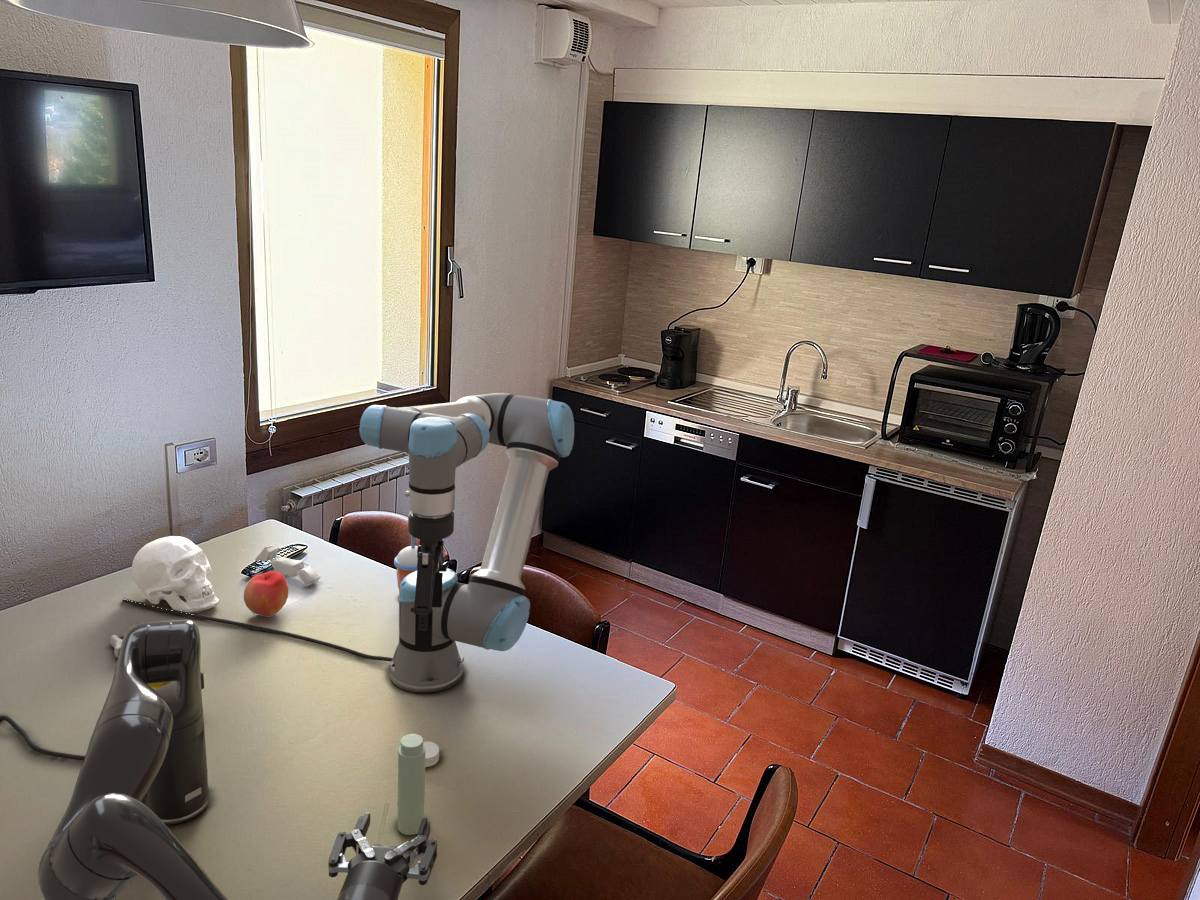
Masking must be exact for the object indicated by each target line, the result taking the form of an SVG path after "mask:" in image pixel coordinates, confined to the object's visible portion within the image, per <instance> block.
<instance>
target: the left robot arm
mask: <svg viewBox="0 0 1200 900" xmlns="http://www.w3.org/2000/svg"><path fill="white" fill-rule="evenodd" d="M200 634H201V633H200V630H199V626H198V625H197V623H196V622H195V621H194V620H192V619H177V620H175V619H174V620H162V621H160V620H159V621H149V622H141V623H138V624H134V625H132V626H130V627H129V628H128V629H127V631H126V632H125V634H124V635H123V636H124V638H123V640H122V643H121V647H120V651H119V655H118V658H117V660H116V665H115V668H114V673H113V677H112V680H111V681H112V682H111V685H110V688H109V690H108V694H107V696H106V699H105V702H104V704H103V706H102V709H101V711H100V714H99V716H98V719H97V721H96V723H95V725H94V729H93V731H92V734H91V737H90V739H89V743H88V745H87V750H86V753H85V755H80V754H78V755H77V754H73V753H66V752H59V751H53V750H49V749H46V748H43V747H41V746H39V745H37V744H36V743H34V741H32V739H31V738H30V737H29V735H28V733H27V732H26V731H25V729H23V728H22V727H21V726H20V725H19V724H18V723H17V722H15V720H14V719H12V718H11V717H10V716H8V715H4V714H3V715H0V722H1V721H3V720H4V722H5V721H6V722H7V723H8V724H9V725H10V726H11V727H12V728H13V729H14V730H15V731H16V732H17V733H18V734H20V736H21V737H22V739H23V740H24V741H25V743H26V744H27V746H28V747H29V748H31V749H32V750H33V751H34V752H37V753H40V754H43V755H46V756H51V757H55V758H62V759H68V760H75V761H82V764H81V766H80V767H81V768H80V770H79V773H78V776H77V779H76V783H75V786H74V788H73V792H72V795H71V798H70V801H69V804H68V805H67V808H66V810H65V812H64V815H63V817H62V818H61V821H60V822H59V824H58V826H57V828H56V830H55V831H54V833H53V835H52V837H51V839H50V840H49V842H48V844H47V846H46V848H45V850H44V852H43V853H42V856H41V858H40V861H39V863H38V869H37V884H38V888H39V892H40V894H41V897H42V899H43V900H115V899H116V898H117V897H118V896H119V895H120V894H121V893H122V892H123V891H124V890H125V889H126V888H127V887H128V886H129V885H130V883H131V882H132V881H133V880H134V879H135V878H136V877H137V876H139V877H140V878H142V879H143V880H144V881H146V882H147V883H148V884H149V885H151V886H152V887H153V888H154V889H155V890H156V891H157V892H158V893H159V895H160V896H161V897H162V899H163V900H229V899H228V898H227V896H226V895H225V894H224V893H223V892H222V891H221V889H219V887H218V886H217V885H216V883H215V882H214V881H213V880H212V879H211V877H210V876H209V874H208V873H207V871H205V870H204V868H203V867H202V866H201V865H200V863H199V862H198V861H197V859H195V858H194V856H193V855H192V854H191V853H190V851H188V849H187V848H186V847H185V845H184V844H182V842H181V841H180V840H179V839H178V837H177V836H176V835H175V834H174V832H172V831H171V829H170V828H169V827H168V826H172V825H178V824H182V823H185V822H187V821H190V820H193V819H194V818H196V817H197V816H199V815H201V813H203V812H204V811H205V810H206V809H207V808H208V805H209V803H210V800H211V799H210V798H211V796H210V787H209V777H208V763H207V748H206V746H207V745H206V733H205V722H204V721H205V720H204V719H205V718H204V706H203V693H202V690H201V673H202V672H201V649H202V648H201V647H202V645H201V635H200ZM171 681H172V682H171ZM161 682H170V683H168V684H166V685H164V686H161V687H159V688H157V689H155V690H154V689H152V688H151V687H150V686H149V685H148V684H150V683H161ZM370 825H371V812H364V814H363V815H361V816H359V817H358V818H357V822H356V823H355V826H354V828H353V830H352V831H351V832H346V831H344V830H343V831H339V832H338V833H337V836H336V838H335V841H334V844H333V847H332V850H331V852H330V855H329V858H328V876H329V878H336V877H337V876H338V874H339V873H344V874H345V873H346V877H345V879H344V881H343V884H342V887H341V889H340V890H339V891H340V892H339V893H338V897H337V899H336V900H399V897H400V893H401V891H402V887H403V885H404V883H405V882H406V881H407V880H408V879H411V880H417V881H418V884H419V885H420V886H426V885H427V884H428V882H429V879H430V876H431V875H432V874H431V873H432V871H433V868H434V866H435V862H436V860H437V857H438V841H437V839H435V838H433V839H430V835H431V822H430V821H428V817H424V818H422V820H421V824H420V827H419V830H418V833H417V834H416V837H414V838H413V839H412V840H411V841H409V840H407V841H405V842H403V843H402V844H401V845H399V846H397V845H383V844H378V843H374V844H373V845H372V846H371V845H370V843H369V841H368V839H367V837H366V836H367V833H368V830H369V828H370ZM348 848H352V850H353V852H354V854H355V856H354V857H352V858H351V859H350V860H349V861H347V860H346V856H345V854H346V851H347V849H348ZM420 857H422V858H421V860H418V861H417V862H416V864H415V865H414V863H415V861H416V860H417V859H419V858H420ZM412 865H414V866H413V867H411V866H412Z"/></svg>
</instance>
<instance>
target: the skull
mask: <svg viewBox="0 0 1200 900" xmlns="http://www.w3.org/2000/svg"><path fill="white" fill-rule="evenodd" d="M131 574H132V579H133V581H134V583H135V585H136V586H137V588H138V589H139V590H140V591H141V593H142V594H143V596H144V597H145V598H146V599H147V601H149V602H150V603H151V605H159V603H160V601H166V603H168V605H169V607H171V609H172V610H177V611H180V610H182V612H187V613H192V614H194V613H199V612H202V611H206V610H209V609H211V608H214V607H216V606H218V604H219V603H220V601H219V600H220V599H219V598H218V597H217V596H216V593H215V591H214V590H213V588H214V586H213V585H212V583H211V582H210V581H209V579H208V578H207V577H208V575H210V574H212V567H211V564H210V562H209V560H208V558H207V555H206V554H205V552H204V551H203V549H201V548H200V547H199V546H198V545H196V544H195V543H194V542H193V541H192V540H191V539H189V538H187V537H184V536H181V535H180V536H178V535H169V536H164V537H160V538H157V539H154V540H152V541H150V542H148V543H146V544H144V545H143V546H142V547H141V548H140V549H139V550H138V551H137V553H136V554H135V556H134V557H133V560H132V564H131ZM177 593H178V594H177ZM179 596H181V597H184V600H185V601H184V600H182V599H181V598H180V597H179ZM191 610H192V611H191Z"/></svg>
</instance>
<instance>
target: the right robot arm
mask: <svg viewBox="0 0 1200 900" xmlns="http://www.w3.org/2000/svg"><path fill="white" fill-rule="evenodd" d="M358 429H359V436H360V439H361V441H362V442H363V443H364V444H366V445H368V446H369V447H373V448H374V447H375V448H378V449H379V450H381V449H384V450H390V451H396V452H403V453H408V490H405V492H404V495H405V497H409V498H408V510H409V512H408V514H407V531H408V534H409V535H410V536H413V537H415V539H418V540H419V545H417V546H418V548H417V558H418V562H417V571H415V572H413V573H410V574H409V575H407V576H406V577H405V578H404V579H403V580H402V582H401V584H400V592H399V591H398V593H399V594H398V598H397V600H398V643H397V645H396V648H395V651H394V653H393V656H392V657H389V656H381V655H371V654H366V653H362V652H360V651H356V650H354V649H352V648H351V649H350V648H348V647H344V646H341V645H338V644H335V643H332V642H331V643H330V642H328V641H323V640H320V639H316V638H312V637H309V636H304V635H300V634H297V633H292V632H287V631H283V630H279V629H275V628H271V627H270V628H269V627H265V626H260V625H255V624H250V623H246V622H239V621H235V620H228V619H225V618H218V617H213V616H208V615H202V614H197V613H190V614H189V613H187V612H182V611H177V610H173V608H167V607H161V606H158V607H159V608H157V605H154V606H155V607H152V605H153V604H149V603H144V602H140V601H136V600H132V599H129V598H126V599H127V600H128V601H127V600H123V599H121V600H122V601H121V602H122V603H125V604H129V605H133V606H137V607H140V608H141V607H142V608H146V609H149V610H153V611H158V612H162V613H163V612H164V613H168V614H173V615H178V616H183V617H187V618H193V619H198V620H204V621H210V622H215V623H219V624H226V625H231V626H235V627H241V628H247V629H251V630H257V631H261V632H266V633H271V634H275V635H280V636H284V637H289V638H292V639H297V640H300V641H304V642H307V643H312V644H316V645H319V646H324V647H327V648H330V649H333V650H338V651H340V652H344V653H348V654H350V655H353V656H356V657H359V658H362V659H366V660H372V661H381V662H390V665H389V679H390V681H391V682H392V683H393V684H394V685H395V686H396V687H398V688H399V689H401V690H404V691H407V692H410V693H416V694H430V693H431V694H432V693H438V692H441V691H445V690H447V689H450V688H451V687H453V686H455V685H456V684H457V683H458V682H459V681H460V680H461V679H462V676H463V672H464V664H463V663H464V661H465V656H462V657H461V656H460V653H459V649H458V646H457V642H458V643H462V644H466V645H470V646H474V647H478V648H482V649H484V650H487V651H488V650H489V651H490V650H493V651H498V652H506V651H509V650H510V649H512V648H513V647H514V646H515V645H516V644H517V643H518V642H519V640H520V638H521V637H522V635H523V634H524V631H525V629H526V626H527V624H528V620H529V618H530V610H531V602H530V599H529V598H528V597H527V596H525V594H526V587H525V585H524V583H523V581H522V575H523V572H524V567H525V565H526V561H527V557H528V552H529V549H530V545H531V541H532V539H533V534H534V530H535V526H536V522H537V518H538V515H539V511H540V507H541V504H542V499H543V496H544V492H545V489H546V485H547V481H548V477H549V474H550V471H552V470H554V469H556V468H557V467H558V466H559V462H560V459H561V458H567V457H569V456H570V454H571V452H572V450H573V447H574V441H575V418H574V414H573V411H572V409H571V407H570V406H569V405H568V404H567V403H565V402H563V401H557V400H553V399H551V398H548V399H545V398H541V397H534V396H533V397H532V396H526V395H520V394H513V393H507V392H495V393H484V394H476V395H466V396H462V397H461V398H459V399H458V400H456V401H453V402H444V403H434V404H433V403H432V404H423V405H413V406H400V407H395V406H388V405H386V404H384V405H380V404H372V405H369V406H368V407H367V408H366V409H365V410H364V411H363V413H362V415H361V418H360V420H359V428H358ZM489 444H490V445H491V444H492V445H495V446H500V447H506V449H505V454H506V455H507V457H508V459H509V465H508V469H507V472H506V474H505V479H504V483H503V486H502V490H501V494H500V498H499V500H498V505H497V508H496V511H495V515H494V519H493V523H492V526H491V529H490V533H489V536H488V540H487V544H486V548H485V551H484V554H483V559H482V561H481V565H480V568H479V569H478V570H477V571H475V572H474V573H472V574H471V575H470V578H469V581H468V583H462V582H458V580H459V579H458V578H459V577H458V575H457V573H456V571H454V570H453V569H450V568H448V565H447V564H444V563H445V554H444V546H445V541H444V539H447V538H449V537H451V536H452V535H453V533H454V530H455V512H454V511H455V507H456V470H457V468H458V467H460V466H461V465H462V464H465V463H466V462H468V461H470V460H473V459H474V458H477V457H478V456H479V454H480V453H482V452H483V451H484V450H485V449H486V448H487V446H488V445H489ZM129 600H130V601H129ZM131 601H133V602H131ZM135 602H136V603H135ZM139 603H141V604H139ZM144 604H145V605H144ZM161 608H162V609H161ZM166 609H167V610H166ZM171 610H173V611H171ZM181 612H182V613H181ZM186 613H187V614H186ZM191 614H194V615H191Z"/></svg>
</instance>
